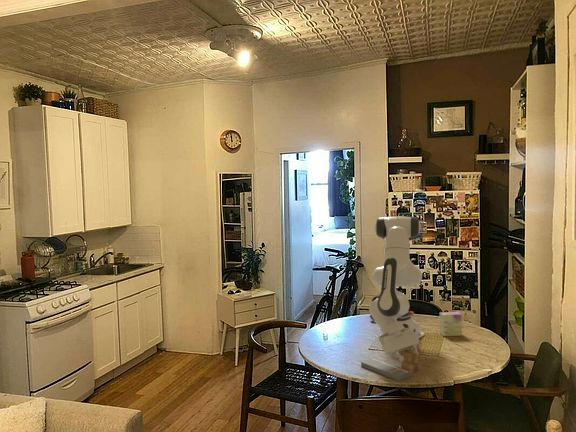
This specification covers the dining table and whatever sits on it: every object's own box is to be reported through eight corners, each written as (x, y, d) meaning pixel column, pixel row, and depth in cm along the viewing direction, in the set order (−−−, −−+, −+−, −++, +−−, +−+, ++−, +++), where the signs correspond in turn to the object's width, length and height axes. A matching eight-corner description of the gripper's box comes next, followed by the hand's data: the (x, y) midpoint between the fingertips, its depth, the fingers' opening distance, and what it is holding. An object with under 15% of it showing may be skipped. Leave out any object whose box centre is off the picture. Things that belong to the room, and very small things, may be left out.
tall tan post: (408, 367, 208) (408, 349, 208) (417, 370, 204) (417, 352, 204) (401, 369, 205) (401, 352, 205) (410, 373, 201) (410, 355, 201)
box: (457, 332, 255) (457, 311, 254) (462, 335, 249) (461, 314, 249) (439, 333, 255) (439, 312, 254) (443, 336, 249) (442, 315, 248)
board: (373, 362, 216) (373, 357, 216) (411, 376, 198) (411, 371, 198) (361, 366, 211) (361, 361, 211) (398, 381, 193) (398, 376, 193)
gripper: (380, 332, 204) (398, 360, 196) (411, 323, 215) (428, 349, 208) (373, 339, 207) (390, 367, 200) (403, 330, 219) (420, 356, 212)
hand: (410, 358), depth 204 cm, fingers open, 8 cm apart
